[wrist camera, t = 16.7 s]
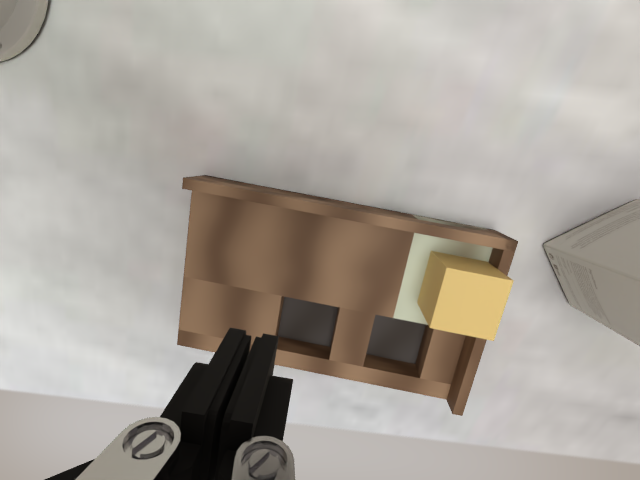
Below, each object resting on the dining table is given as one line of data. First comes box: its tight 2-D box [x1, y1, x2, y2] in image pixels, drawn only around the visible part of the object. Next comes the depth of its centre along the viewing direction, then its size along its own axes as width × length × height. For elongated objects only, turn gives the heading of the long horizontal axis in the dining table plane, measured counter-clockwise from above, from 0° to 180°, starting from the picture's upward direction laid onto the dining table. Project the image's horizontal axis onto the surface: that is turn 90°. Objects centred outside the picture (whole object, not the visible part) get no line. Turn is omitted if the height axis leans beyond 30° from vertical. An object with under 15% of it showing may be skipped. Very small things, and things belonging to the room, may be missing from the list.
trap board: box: [177, 175, 518, 416], centre depth 30 cm, size 25×15×4 cm, turn 80°
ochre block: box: [417, 251, 513, 341], centre depth 26 cm, size 4×4×4 cm
